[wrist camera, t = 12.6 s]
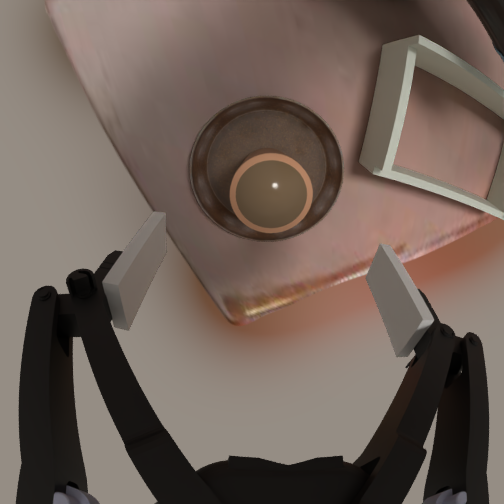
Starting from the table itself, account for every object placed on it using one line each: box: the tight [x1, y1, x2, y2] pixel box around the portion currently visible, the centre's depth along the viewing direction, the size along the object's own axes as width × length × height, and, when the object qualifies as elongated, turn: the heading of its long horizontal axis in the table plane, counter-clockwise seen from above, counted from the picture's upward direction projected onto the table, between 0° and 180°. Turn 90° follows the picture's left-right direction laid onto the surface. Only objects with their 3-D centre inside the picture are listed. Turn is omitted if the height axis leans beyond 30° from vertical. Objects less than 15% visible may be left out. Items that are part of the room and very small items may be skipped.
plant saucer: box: [190, 96, 344, 242], centre depth 31 cm, size 18×18×3 cm
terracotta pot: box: [230, 148, 313, 233], centre depth 26 cm, size 7×7×8 cm
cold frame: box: [359, 35, 504, 220], centre depth 24 cm, size 16×26×9 cm, turn 82°
